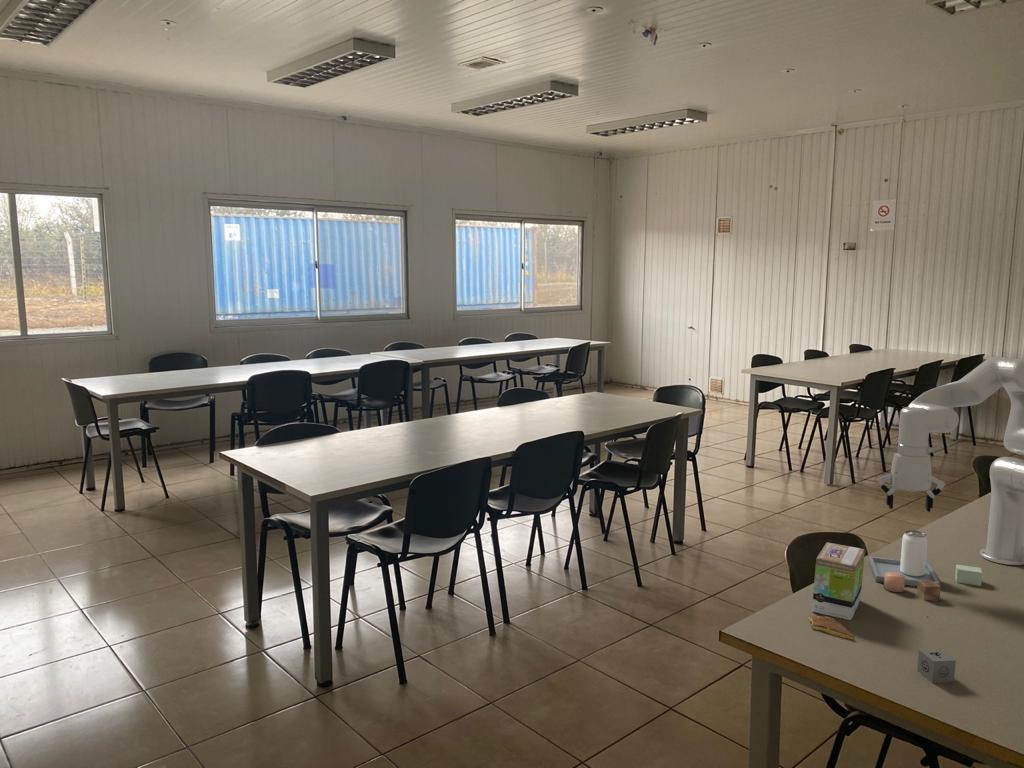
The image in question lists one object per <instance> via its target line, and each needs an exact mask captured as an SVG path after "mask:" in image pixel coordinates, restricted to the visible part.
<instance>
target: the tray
mask: <svg viewBox="0 0 1024 768" xmlns="http://www.w3.org/2000/svg"><path fill="white" fill-rule="evenodd" d="M900 563H901V559H896V558H886V557H877V556H868V564H869V567H870V569H871V572H872V575H873V577H874V580H875V583H883V584H884V579H885V573H886V572H896V573H900V574H903V573H902V572H901V571H900ZM903 575H904V576H905V583H904V586H906V585H910V586H909V587H915V586H917V588H918V581H934V582H935V583H936V584H938V585H939V586H940V585H941V584H940V581H939V580H938V577H937V575H936V574H935V572H934V571H933V568H932V567H931V565H930V564H929V562H926V568H925V575H923V576H921V577H913V576H908V575H905V574H903ZM940 587H941V586H940Z"/></svg>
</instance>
